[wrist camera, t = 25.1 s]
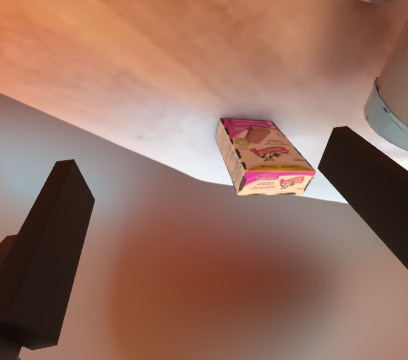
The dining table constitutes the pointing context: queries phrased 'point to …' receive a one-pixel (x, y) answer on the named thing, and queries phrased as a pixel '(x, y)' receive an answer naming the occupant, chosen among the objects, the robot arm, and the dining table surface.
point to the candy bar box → (262, 158)
